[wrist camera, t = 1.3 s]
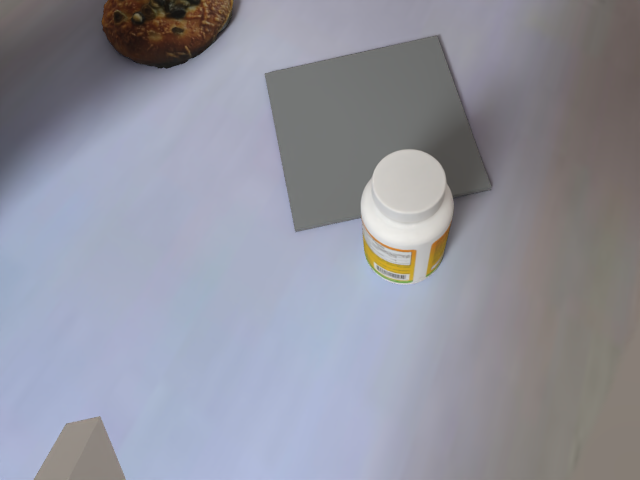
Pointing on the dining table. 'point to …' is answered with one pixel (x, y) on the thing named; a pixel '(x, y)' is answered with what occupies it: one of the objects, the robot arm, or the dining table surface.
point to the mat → (367, 126)
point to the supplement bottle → (406, 216)
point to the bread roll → (164, 28)
